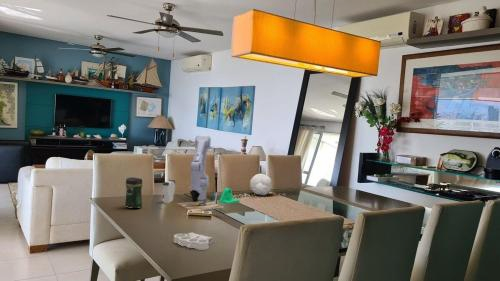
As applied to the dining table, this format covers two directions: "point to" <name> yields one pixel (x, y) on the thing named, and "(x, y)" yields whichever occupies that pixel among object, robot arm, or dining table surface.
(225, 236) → the dining table surface
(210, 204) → the base plate
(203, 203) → the bar with round base
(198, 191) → the robot arm
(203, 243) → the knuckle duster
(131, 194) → the coffee jar
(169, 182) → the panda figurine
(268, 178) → the decorative orb
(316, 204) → the dining table surface
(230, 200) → the camera mount
